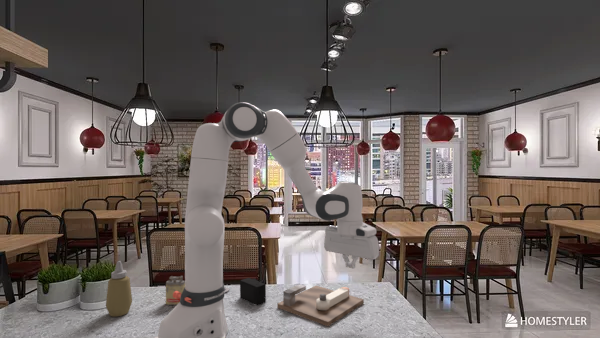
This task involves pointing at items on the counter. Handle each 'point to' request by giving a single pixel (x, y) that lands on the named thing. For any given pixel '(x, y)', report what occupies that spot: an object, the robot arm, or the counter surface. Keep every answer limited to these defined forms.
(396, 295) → the counter surface
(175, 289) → the small jar
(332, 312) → the pivot base
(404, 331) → the counter surface
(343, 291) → the link
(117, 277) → the squeeze bottle
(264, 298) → the digital camera
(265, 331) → the counter surface
